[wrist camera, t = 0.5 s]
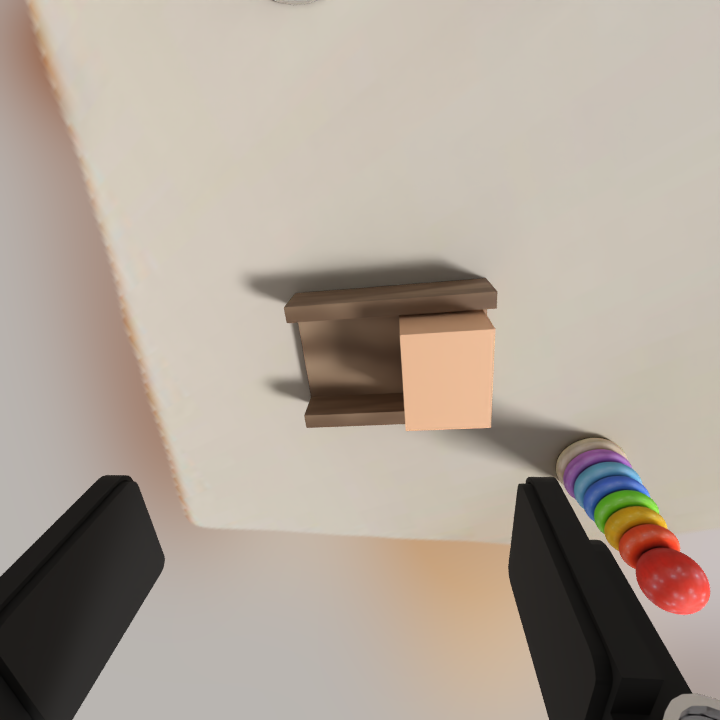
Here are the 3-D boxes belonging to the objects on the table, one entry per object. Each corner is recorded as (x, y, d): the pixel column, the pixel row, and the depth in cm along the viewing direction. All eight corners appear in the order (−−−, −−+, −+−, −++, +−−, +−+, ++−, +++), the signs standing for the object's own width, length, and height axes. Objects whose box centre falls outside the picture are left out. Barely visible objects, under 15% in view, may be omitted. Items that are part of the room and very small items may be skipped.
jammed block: (398, 307, 41) (399, 335, 34) (477, 301, 40) (495, 329, 33) (404, 390, 46) (405, 430, 39) (475, 387, 45) (490, 427, 38)
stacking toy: (626, 476, 50) (745, 632, 33) (560, 491, 52) (640, 647, 35) (617, 426, 47) (741, 570, 30) (547, 445, 49) (628, 590, 32)
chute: (295, 293, 43) (283, 307, 38) (485, 278, 41) (497, 291, 36) (314, 404, 49) (306, 427, 44) (482, 396, 47) (491, 420, 42)
